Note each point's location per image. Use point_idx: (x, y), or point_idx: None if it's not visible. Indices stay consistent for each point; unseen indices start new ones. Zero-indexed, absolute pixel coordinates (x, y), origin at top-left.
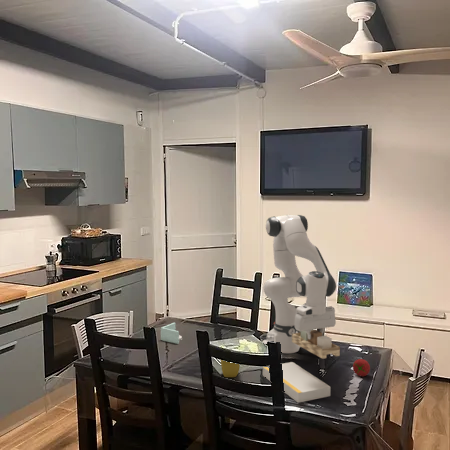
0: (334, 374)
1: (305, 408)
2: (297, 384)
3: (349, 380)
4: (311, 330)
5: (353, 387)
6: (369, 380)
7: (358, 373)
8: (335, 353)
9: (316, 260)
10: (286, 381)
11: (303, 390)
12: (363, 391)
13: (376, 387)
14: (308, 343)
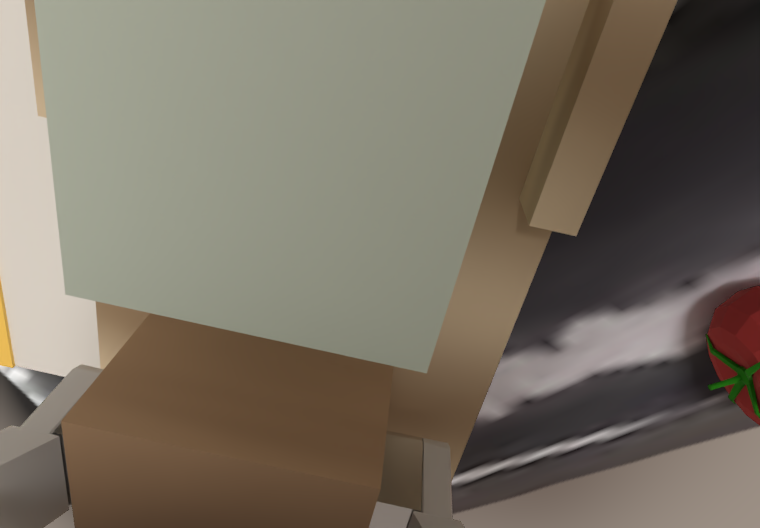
0: (611, 175)
1: (40, 379)
2: (46, 269)
3: (587, 315)
4: (192, 455)
5: (498, 388)
6: (696, 392)
7: (709, 344)
8: None
9: None
10: None
11: (41, 353)
12: (494, 445)
13: (612, 461)
14: (147, 314)
